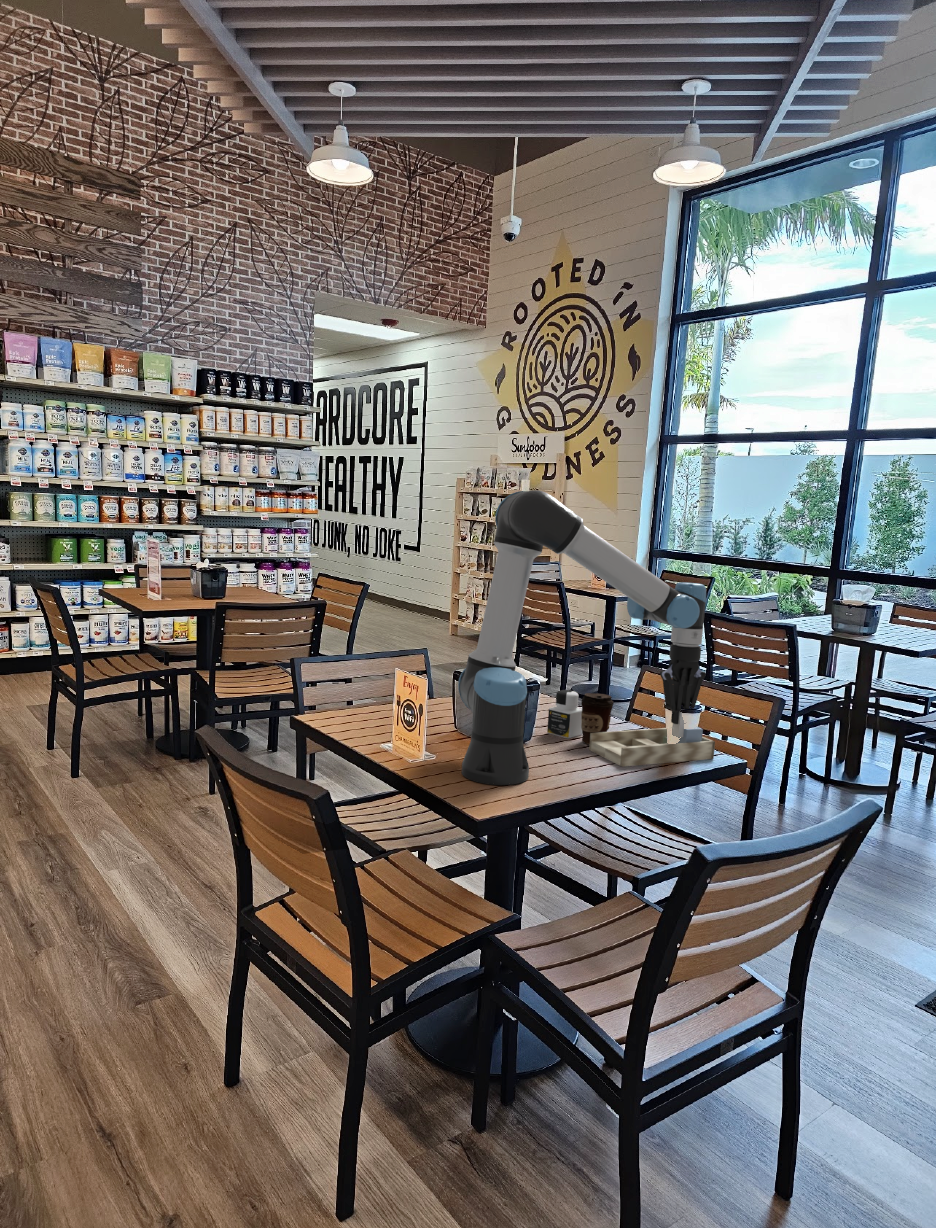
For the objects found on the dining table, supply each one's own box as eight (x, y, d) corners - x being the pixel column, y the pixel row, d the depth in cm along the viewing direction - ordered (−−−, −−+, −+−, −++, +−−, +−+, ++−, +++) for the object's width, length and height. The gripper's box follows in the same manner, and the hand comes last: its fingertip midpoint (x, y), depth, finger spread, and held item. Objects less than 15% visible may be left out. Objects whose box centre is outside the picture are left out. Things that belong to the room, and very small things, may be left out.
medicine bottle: (546, 733, 218) (549, 690, 217) (561, 729, 223) (564, 687, 222) (568, 739, 213) (571, 695, 212) (582, 734, 219) (585, 692, 217)
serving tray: (622, 766, 190) (623, 748, 190) (589, 750, 204) (590, 732, 203) (713, 758, 202) (715, 741, 201) (676, 743, 215) (678, 727, 214)
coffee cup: (600, 749, 205) (603, 700, 203) (572, 742, 210) (575, 694, 208) (615, 743, 212) (619, 695, 210) (587, 737, 216) (591, 690, 215)
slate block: (685, 749, 200) (687, 729, 199) (672, 743, 204) (674, 724, 204) (700, 748, 202) (702, 729, 201) (688, 742, 206) (689, 724, 206)
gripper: (674, 646, 193) (666, 741, 195) (716, 646, 198) (707, 738, 201) (655, 642, 200) (647, 733, 202) (696, 641, 205) (688, 731, 208)
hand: (677, 736), depth 201 cm, fingers closed
